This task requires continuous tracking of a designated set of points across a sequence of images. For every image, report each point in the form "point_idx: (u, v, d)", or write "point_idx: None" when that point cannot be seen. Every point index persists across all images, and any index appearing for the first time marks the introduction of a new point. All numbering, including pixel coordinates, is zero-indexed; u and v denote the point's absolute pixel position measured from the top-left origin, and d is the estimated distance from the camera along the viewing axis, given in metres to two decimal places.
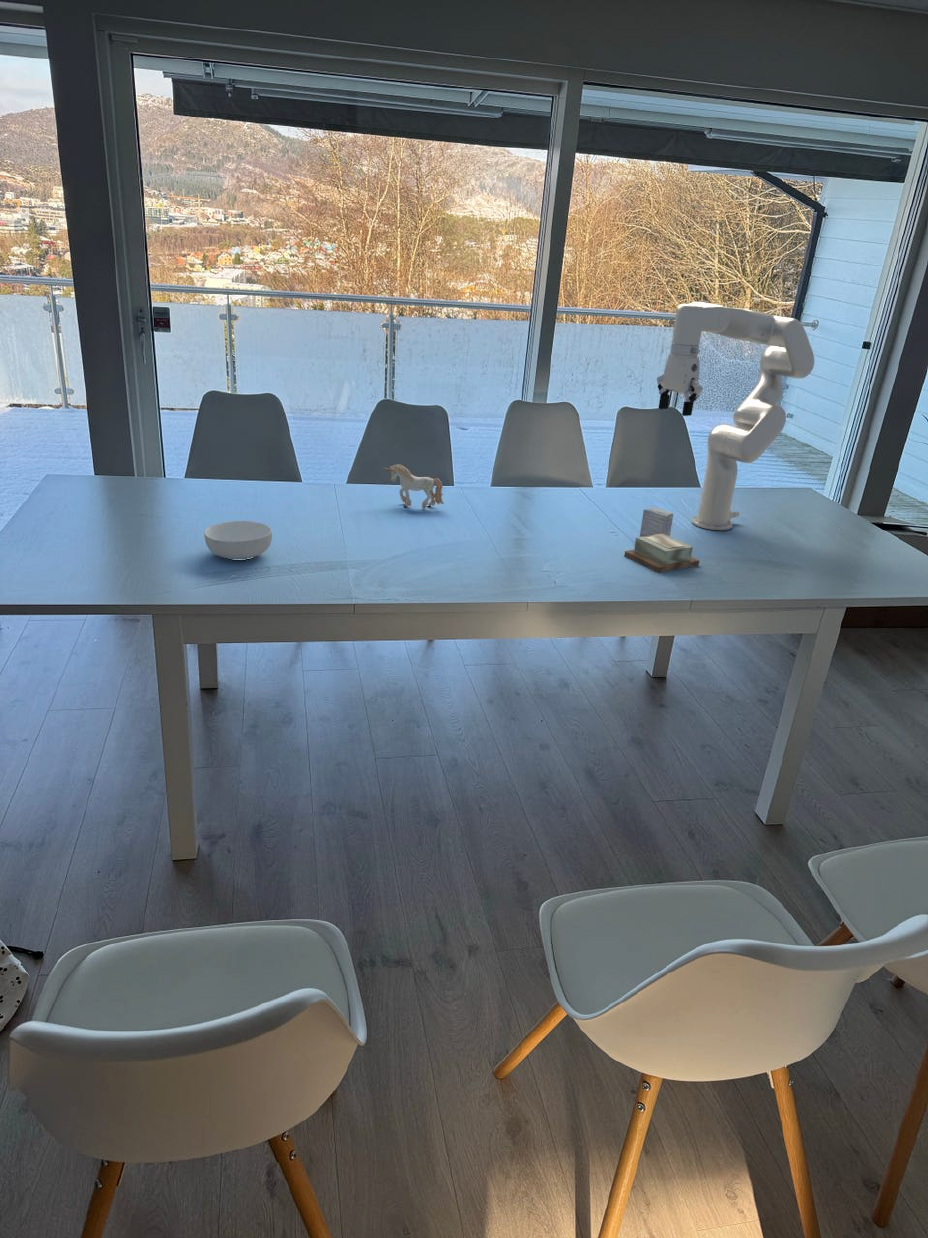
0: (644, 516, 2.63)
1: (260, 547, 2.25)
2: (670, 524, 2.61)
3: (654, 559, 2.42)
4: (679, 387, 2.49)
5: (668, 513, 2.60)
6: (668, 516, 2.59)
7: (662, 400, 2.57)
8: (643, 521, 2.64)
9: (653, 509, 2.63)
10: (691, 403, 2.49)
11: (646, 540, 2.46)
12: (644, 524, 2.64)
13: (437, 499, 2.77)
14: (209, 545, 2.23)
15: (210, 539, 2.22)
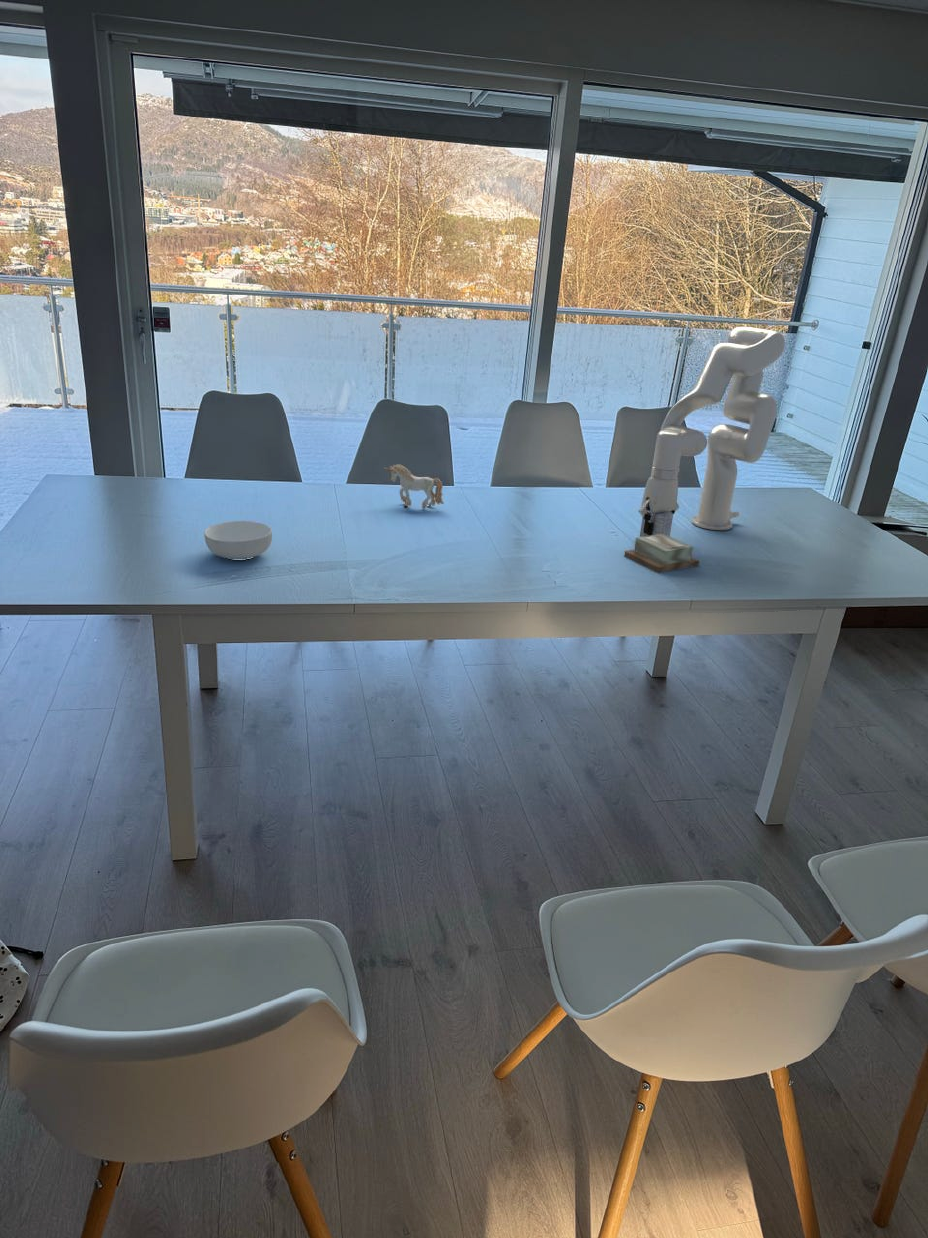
0: None
1: (260, 547, 2.25)
2: (670, 524, 2.61)
3: (654, 559, 2.42)
4: (671, 506, 2.60)
5: (668, 513, 2.60)
6: (667, 516, 2.59)
7: None
8: (643, 521, 2.63)
9: None
10: None
11: (646, 540, 2.46)
12: None
13: (437, 499, 2.77)
14: (209, 545, 2.23)
15: (210, 539, 2.22)
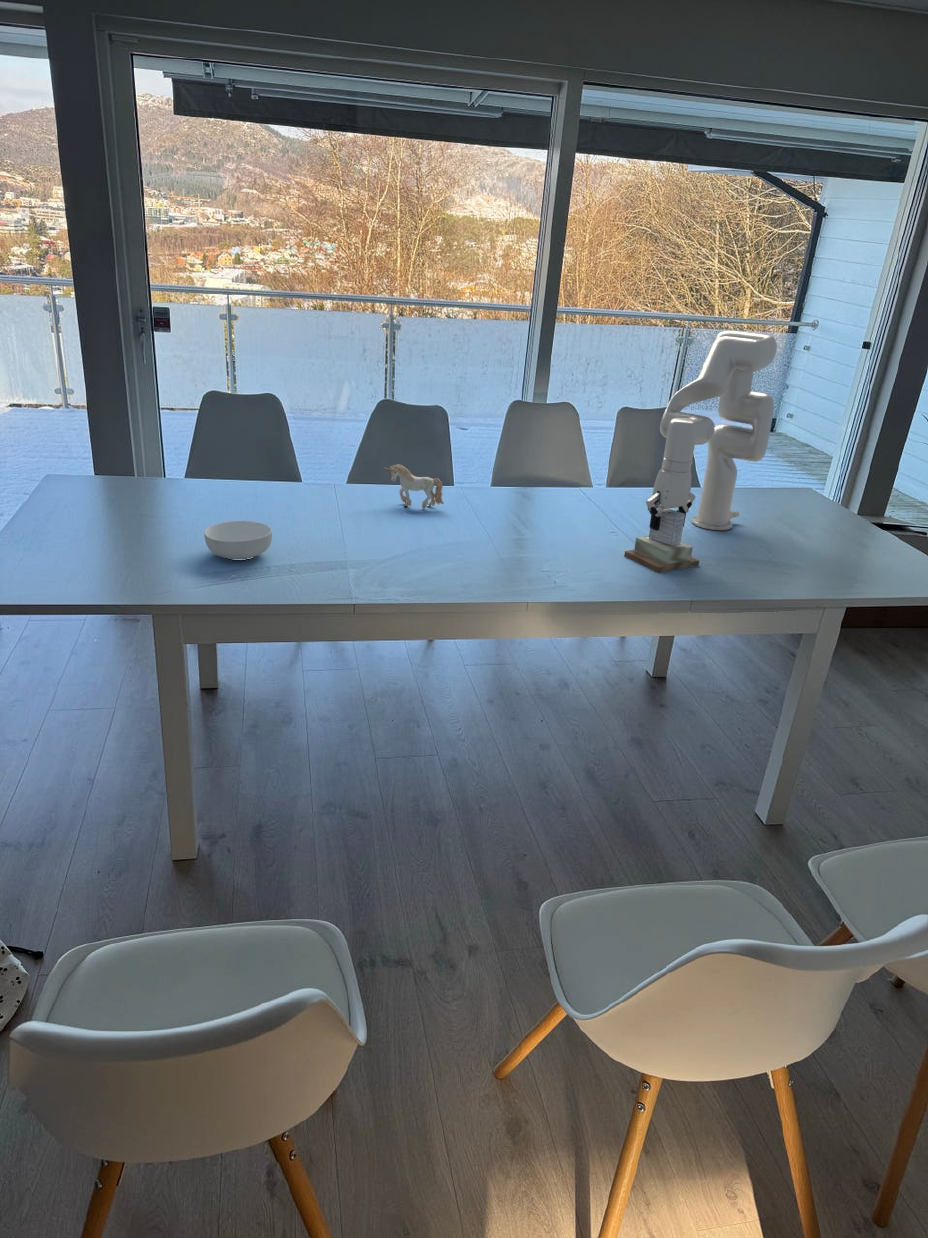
0: None
1: (260, 547, 2.25)
2: (681, 525, 2.41)
3: (654, 559, 2.42)
4: (683, 501, 2.40)
5: (679, 513, 2.40)
6: (678, 517, 2.39)
7: None
8: None
9: (664, 509, 2.43)
10: None
11: (646, 540, 2.46)
12: None
13: (437, 499, 2.77)
14: (209, 545, 2.23)
15: (210, 539, 2.22)
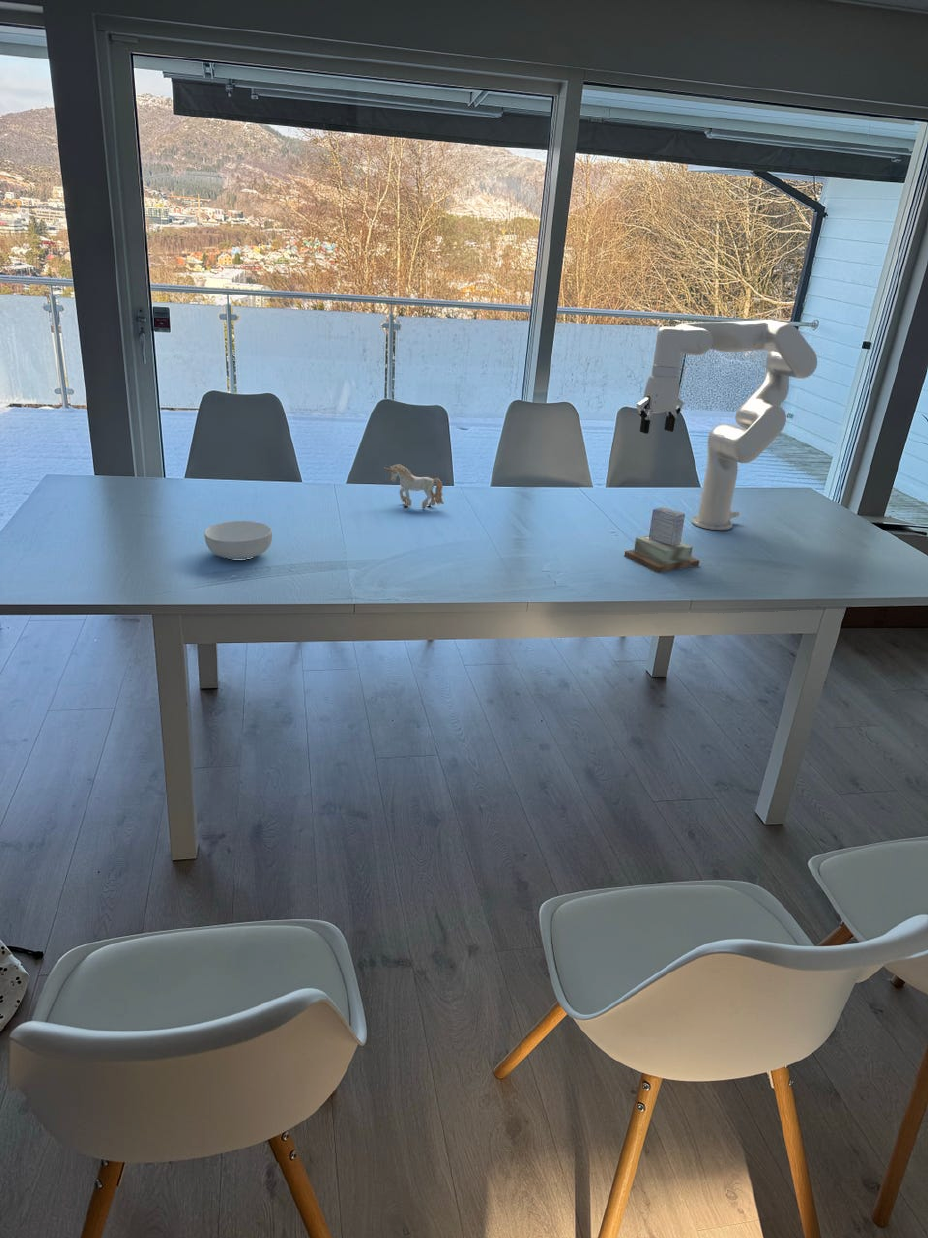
0: (653, 516, 2.43)
1: (260, 547, 2.25)
2: (681, 525, 2.41)
3: (654, 559, 2.42)
4: (671, 406, 2.56)
5: (679, 513, 2.40)
6: (678, 517, 2.39)
7: None
8: (652, 522, 2.44)
9: (664, 509, 2.43)
10: None
11: (646, 540, 2.46)
12: (653, 525, 2.44)
13: (437, 499, 2.77)
14: (209, 545, 2.23)
15: (210, 539, 2.22)
